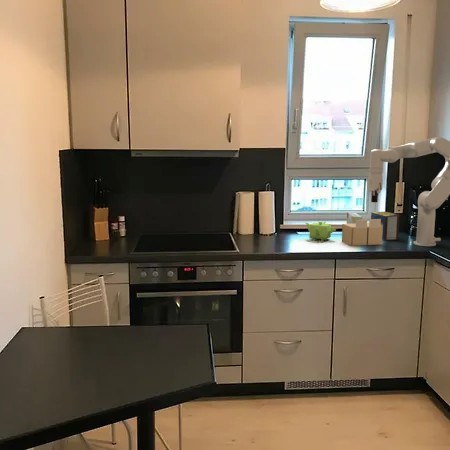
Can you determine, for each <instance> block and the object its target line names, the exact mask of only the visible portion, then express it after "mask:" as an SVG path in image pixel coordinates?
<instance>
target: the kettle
mask: <svg viewBox="0 0 450 450" xmlns="http://www.w3.org/2000/svg"><path fill="white" fill-rule="evenodd" d="M305 224H306V225H307V229H308V232H309V236H308V238H309V239H312V241H317V240H320V241H321V242H325V240H326V241H327V240H328V239H329V238H331V237H332V236H331V234H333V233H334V232H336V231H337V230H336V227H332V224H331V223H326V221H318V222H313V223H311V224H310V223H309V222H305Z"/></svg>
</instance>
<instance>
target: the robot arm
mask: <svg viewBox="0 0 450 450" xmlns="http://www.w3.org/2000/svg"><path fill="white" fill-rule="evenodd" d="M434 153H438V154H440V155H442V156H443V157H444V159H445V164H444V166H443V167H442V169H441V170H440V171H439V172H438V174H437V175H436V177H435V178H434V179H433V180H432V182H431V185H430V187H431V191H429V190H424V191H423V192H421V193H420V194H419V195H418V198H417V210H418V211H417V225H416V226H417V227H416V240H414V241H412V244H413V245H415V246H420V247H436V246H437V243H436V242H441V240H442V239H441V237H435V236H434V235H435V224H436V223H435V222H436V209H439V208H440V207H441V205H442V204H443V203H444V202H445V201H446V200H447V198H449V196H450V140H448V139H446V138H444V137H442V136H441V137H440V136H435V137H430V138H426V139H421V140H418V141H414V142H410V143H406V144H403V145H398V146H394V147H389V148H386V149H372V150H371V151H370V154H369V155H370V156H369V174H368V177H367V185H366V188H367V190H369V192H370V195H371V200H370V202H371V203H378V200H379V199H378V197H379V194H381V191H382V190H383V182H384V179H383V177H384V176H383V173H384V163H391V164H392V163H395V162H397V161H398V160H400V159H401V160H402V159H405V158H406V159H407V158H418V157H421V156H426V155H430V154H434Z"/></svg>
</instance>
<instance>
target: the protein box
mask: <svg viewBox="0 0 450 450" xmlns="http://www.w3.org/2000/svg"><path fill="white" fill-rule="evenodd" d="M370 219H381V226H383V234H382V241H394V240H399V227H400V214H397V213H392V212H388V211H373V212H372V211H371V213H370Z"/></svg>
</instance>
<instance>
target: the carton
mask: <svg viewBox="0 0 450 450" xmlns="http://www.w3.org/2000/svg"><path fill="white" fill-rule="evenodd" d="M380 227H383V226H381V225H380ZM353 228H356V223H355V224H347V223H342V228H341V231H342V232H341V243H344V244H346V245H348V246H350V247H354V246H356V247H359V246H361V245H354V246H352V240H353ZM368 228H369V222H367V245H366V246H369V245H368ZM382 234H383V232H382ZM378 245H383V243H382V244H375V245H374V246H378Z"/></svg>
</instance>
